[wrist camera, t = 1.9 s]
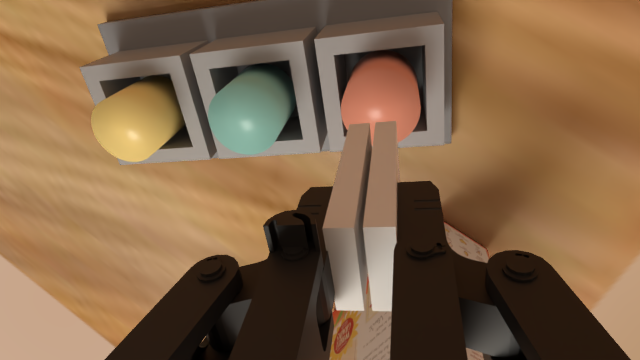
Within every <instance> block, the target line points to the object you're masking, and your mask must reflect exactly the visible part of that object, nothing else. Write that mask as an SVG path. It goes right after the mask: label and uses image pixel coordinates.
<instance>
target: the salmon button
mask: <svg viewBox="0 0 640 360" xmlns="http://www.w3.org/2000/svg"><path fill="white" fill-rule="evenodd" d="M420 111H421V106H420V98H419V90H418V83H417V76H416V72H415V70H414V67H413V66H412V64H411V63H410V62H409V60H408V59H407V58H405V57H404V56H403V55H401V54H399V53H397V52H394V51H390V50H378V51H374V52H371V53H369V54H367V55H365V56H364V57H362V58H361V59H360V60H359V61H358V62H357V63H356V65H355V66H354V68H353V70H352V73H351V75H350V78H349V81H348V84H347V87H346V90H345V93H344V96H343V99H342V103H341V116H342V120H343V123H344V125H345V127H346V129H347V130H348V128H349V124H362V123H370V132H371V143H372V146H373V139H374V130H375V122H389V121H396V125H397V141H398V142H400V141H402V140H404V139H405V138H406V137H407V136H409V135H410V134H411V132H412V131H413V130H414V128H415V127H416V125H417V123H418V120H419V117H420Z"/></svg>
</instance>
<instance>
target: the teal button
mask: <svg viewBox="0 0 640 360" xmlns="http://www.w3.org/2000/svg"><path fill="white" fill-rule="evenodd" d="M295 105H296V96H295V91H294V85H293V82H292V80H291V79H290V77H289V76H288V75H287V74H286V73H285V72H284V71H283V70H281V69H280V68H278V67H276V66H274V65H271V64H265V63H259V64H254V65H251V66H249V67H248V68H246V69H245V70H244V71H242V72H241V73H240V74H239V75H238V76H237V77H236V78H234V79H233V80H232V81H231V82H230V83H229V84H227V85H226V86H225V87H224V88H223V89H222V90H220V91H219V92H218V93H217V94H216V95H215V96H214V97H213V99H212V101H211V103H210V105H209V110H208V120H209V125H210V128H211V130H212V132H213V134H214V135H215V137H216V138H217V139H218V141H219V142H220V143H221V144H223V145H224V146H225V147H227V148H228V149H230V150H232V151H234V152H236V153H240V154H245V155H253V154H258V153H261V152H264V151H265V150H267V149H268V148H270V147H271V146H272V145H273V143H274V142H275V140H276V139H277V137H278V135H279V134H280V132H281V131H282V129H283V127H284V126H285V124H286V122H287V121H288V119H289V117H290V116H291V114H292V112H293V111H294V108H295Z"/></svg>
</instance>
